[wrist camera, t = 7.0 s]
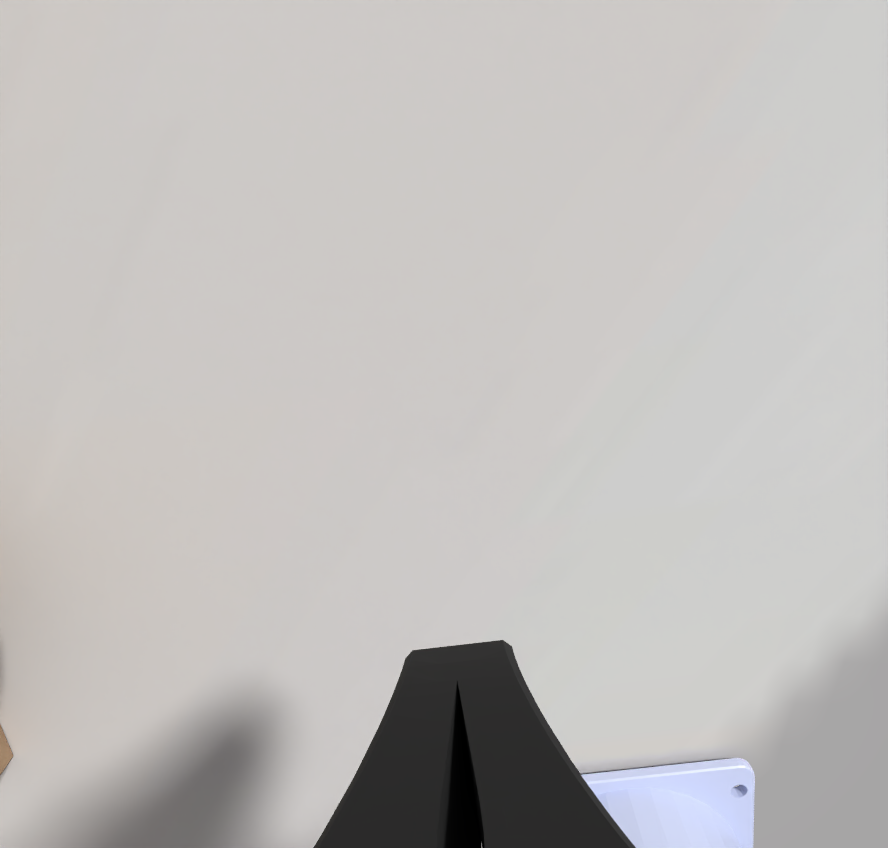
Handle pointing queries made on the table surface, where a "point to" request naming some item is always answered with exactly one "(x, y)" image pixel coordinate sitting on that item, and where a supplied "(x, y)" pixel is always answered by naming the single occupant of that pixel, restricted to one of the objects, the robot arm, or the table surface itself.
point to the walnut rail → (4, 751)
